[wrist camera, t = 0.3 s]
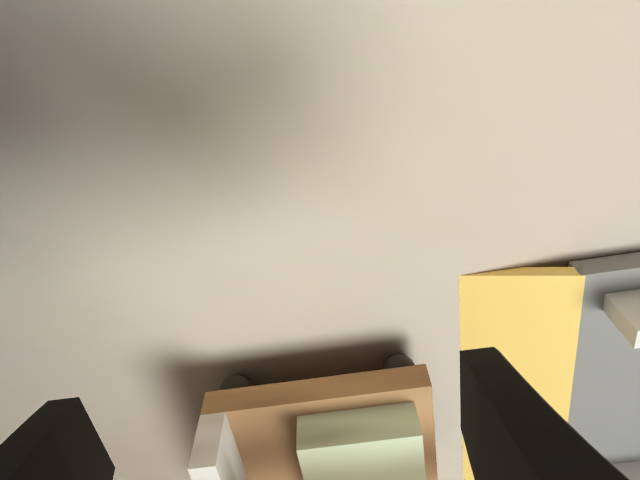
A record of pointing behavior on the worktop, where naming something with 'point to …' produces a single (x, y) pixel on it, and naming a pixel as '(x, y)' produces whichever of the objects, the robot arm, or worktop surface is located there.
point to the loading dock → (568, 343)
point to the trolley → (320, 428)
